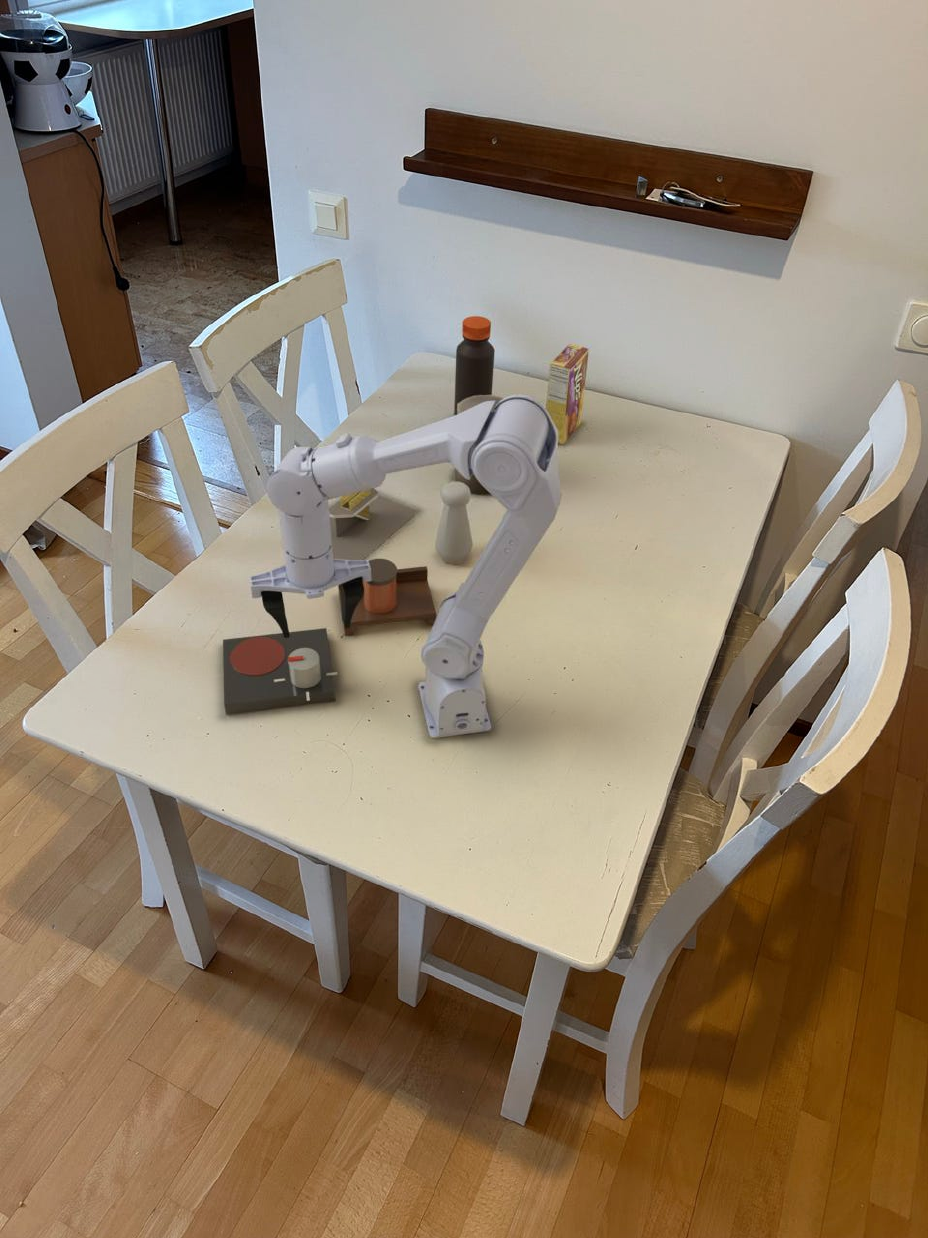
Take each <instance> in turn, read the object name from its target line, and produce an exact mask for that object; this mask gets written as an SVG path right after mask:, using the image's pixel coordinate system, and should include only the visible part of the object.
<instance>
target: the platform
mask: <svg viewBox="0 0 928 1238" xmlns="http://www.w3.org/2000/svg"><path fill="white" fill-rule="evenodd" d="M418 512H419V511H418V510H416V509H414V508H411V507H410V506H406V505H404V504H402V503H399V502H396V501H394V500H392V499H389V498H386V497H384V496H383V495H382V496H381V495H379V492H378V490H377V489H376V488H372V489H369V490H365V491H361V492H357V493H353V494H349V495H345V496H341V497H339V501H337V502H336V503H335V504H333V505H332V506H331V507H329V513H330V525H331V538H332V550H333V559H342V560H356V561H357V560H366V558H368V556H370V555H371V554H372V553H373V552H374V551H376V549H377V548H379V547H380V546H381V545H382V544H384V542H385V541H387V539H389V538H390V537H391V536H393V535H394V534H395V533H396V531H398V530H399V529H400V528H402V526H404V524H406V523H407V522H408V521H409V520H410V519H411V518H412V517H413V516H414V515H416V514H417V513H418Z"/></svg>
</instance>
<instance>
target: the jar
mask: <svg viewBox="0 0 928 1238" xmlns="http://www.w3.org/2000/svg"><path fill="white" fill-rule="evenodd" d="M368 561H369V564H370V568H371V581H369V582H363V586H364V596H363V604H364V607H365V608H366V609H367V610H368V611H370V612H373V613H387V612H389V611H391V610H393V609H394V608H395V606H396V605H397V569H398V567H397V565H396V564H395V563H394V562H393V561H391V560H389V559H386V558H372V559H370V560H368Z"/></svg>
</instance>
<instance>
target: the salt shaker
mask: <svg viewBox="0 0 928 1238" xmlns="http://www.w3.org/2000/svg"><path fill="white" fill-rule="evenodd" d="M471 494H472V493H470V489H469V487H468V486H467V485H465V484H464V483H462V482H456V481H450V482H448V483H446V484H444V485H443V486H442V488H441V492H440V497H441V501H442V503H443V508H442V512H441V517H440V521H439V524H438V528H437V533H436V537H435V541H434V547H435V549H436V552H437V553H438V555H439V557H440V558H441V559H442V560H443V562H444V563H445V564H450V565H458V564H462V563H463V562H465V561H467V559H468V558H469V556H470V554H471V552H472V550H473V545H474V543H473V537H472V531H471V526H470V520H469V515H468V510H467V504H469V502H470V501H471Z"/></svg>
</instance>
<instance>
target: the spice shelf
mask: <svg viewBox="0 0 928 1238" xmlns="http://www.w3.org/2000/svg"><path fill="white" fill-rule="evenodd" d="M428 573H429V572H428V567H427V565H425V566H416V567H406V568H397V605H396V606H395V608H394V609H393V610H391V611H389V612H387V613H373V612H370V611H368V610H367V609H366V608H365V607H364V604H363V598H362V599H361V600H360V602H359V603H358V605H357V606H356V608H355V610H354V613H353V616H352V619H351V623H350V628H346V629H345V628H344V624H343V623H342V626H343V631H344V636H354V628H360V627H368V626H377V625H378V626H379V625H386V624H395V623H403V622H411V621H422V620H425V621H426V625H427V627H433V625H434V622H435V620H436V618H437V610H436V607H435V602H434V599H433V595H432V591H431V588H430V585H429V581H428V576H429V575H428ZM337 588H338V601H339V607H340V608H341V588H340V585H337Z"/></svg>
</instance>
